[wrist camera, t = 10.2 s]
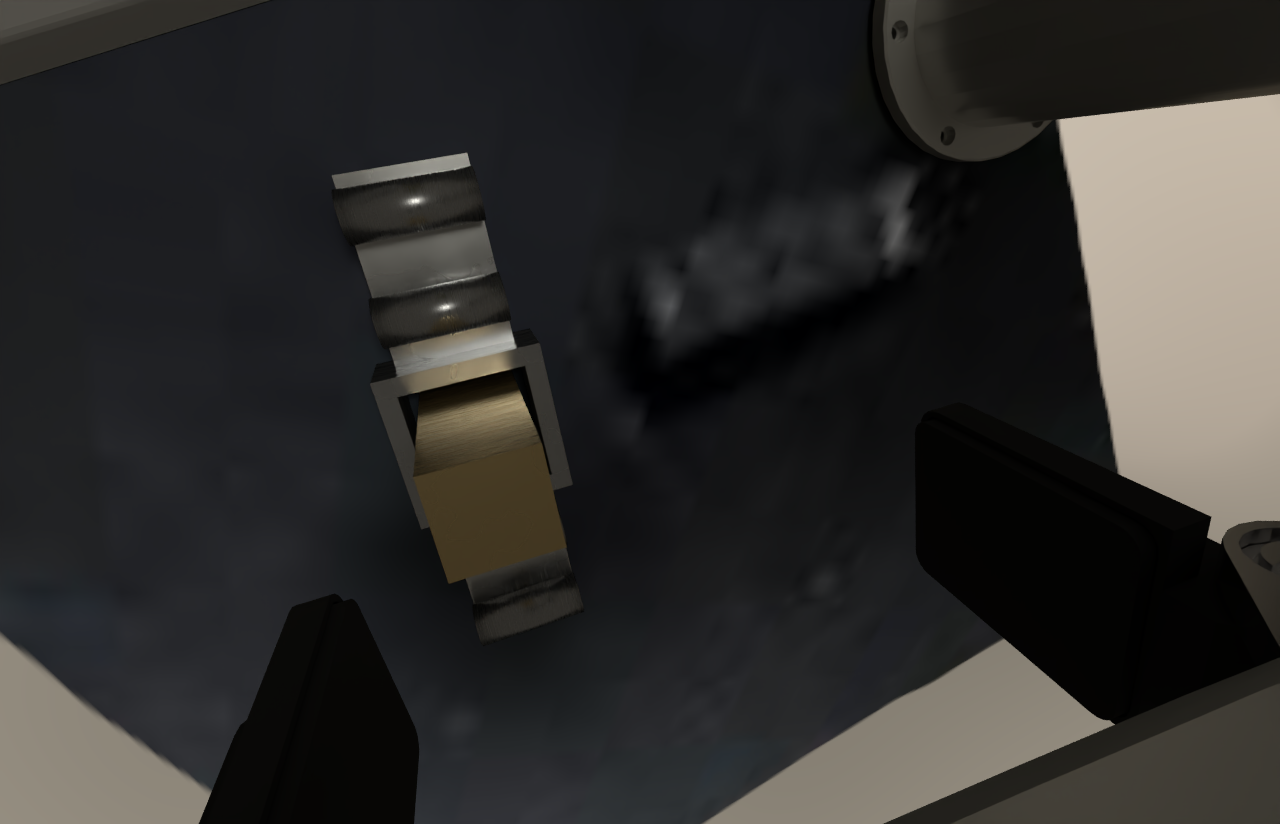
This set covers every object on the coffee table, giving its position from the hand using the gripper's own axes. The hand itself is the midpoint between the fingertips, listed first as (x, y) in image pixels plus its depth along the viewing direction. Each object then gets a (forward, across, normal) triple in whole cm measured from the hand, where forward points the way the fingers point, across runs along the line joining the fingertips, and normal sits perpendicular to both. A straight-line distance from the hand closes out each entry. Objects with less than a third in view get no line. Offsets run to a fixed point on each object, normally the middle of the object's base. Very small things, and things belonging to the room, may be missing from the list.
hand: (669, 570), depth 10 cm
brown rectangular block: (+20, +4, +4) cm, 21 cm away
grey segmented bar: (+20, +4, +4) cm, 21 cm away
